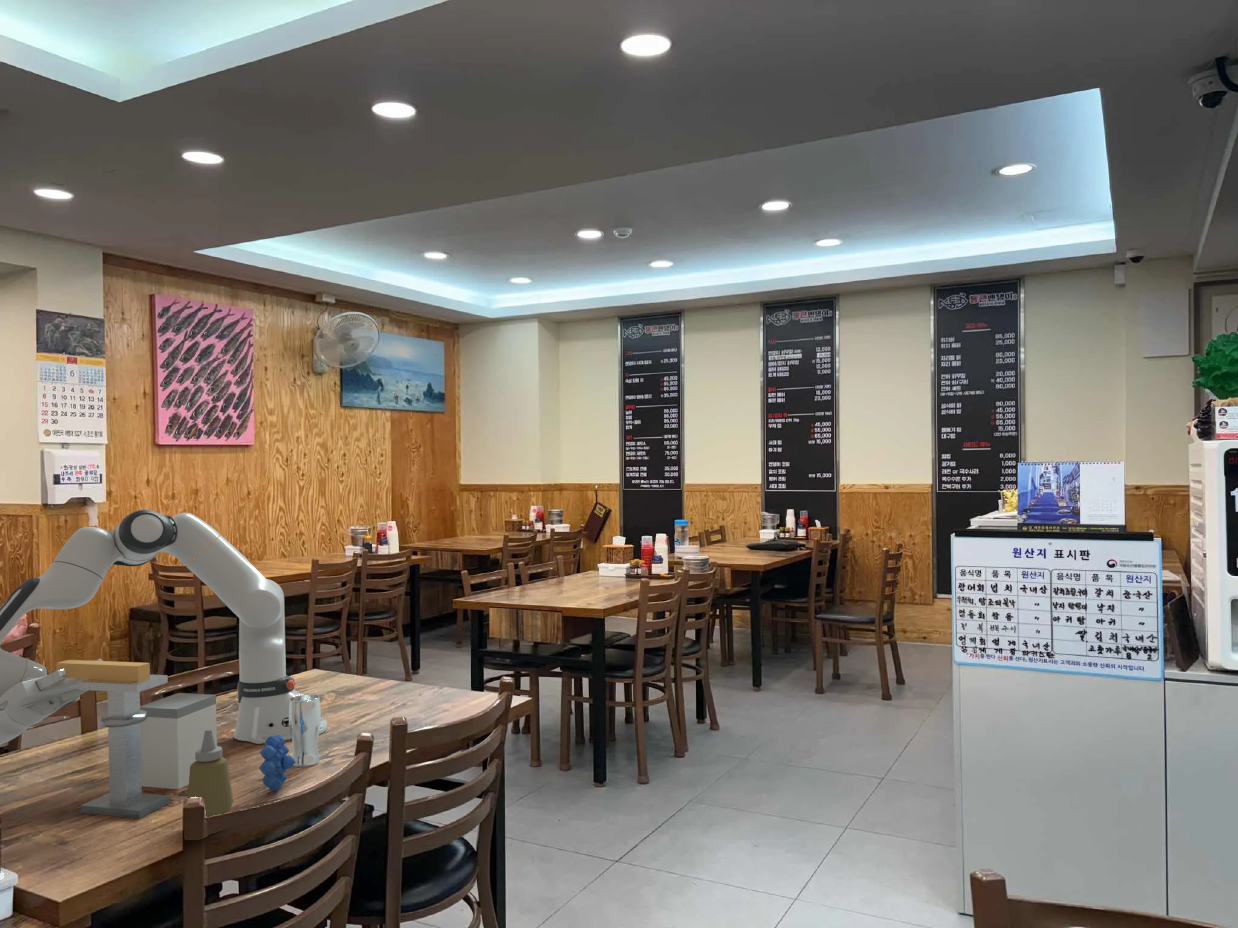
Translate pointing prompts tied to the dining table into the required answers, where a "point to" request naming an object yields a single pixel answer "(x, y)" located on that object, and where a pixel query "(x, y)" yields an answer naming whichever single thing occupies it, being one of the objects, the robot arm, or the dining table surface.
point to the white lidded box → (174, 737)
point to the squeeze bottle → (211, 777)
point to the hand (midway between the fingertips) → (81, 667)
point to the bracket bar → (105, 670)
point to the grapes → (275, 762)
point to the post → (124, 749)
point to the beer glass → (305, 728)
